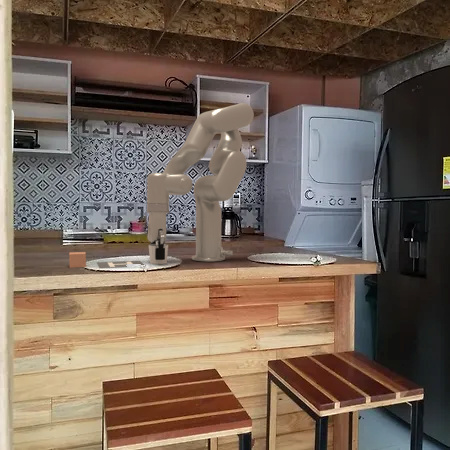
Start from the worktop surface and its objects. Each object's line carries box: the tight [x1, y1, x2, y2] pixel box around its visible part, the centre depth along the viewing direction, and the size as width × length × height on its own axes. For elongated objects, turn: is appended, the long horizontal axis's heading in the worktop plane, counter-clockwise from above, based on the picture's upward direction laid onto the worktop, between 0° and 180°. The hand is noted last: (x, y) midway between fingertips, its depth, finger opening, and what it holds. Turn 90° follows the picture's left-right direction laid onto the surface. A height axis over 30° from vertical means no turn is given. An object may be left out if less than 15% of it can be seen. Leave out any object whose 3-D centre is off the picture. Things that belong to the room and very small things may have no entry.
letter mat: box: [96, 260, 145, 269], centre depth 153 cm, size 15×14×1 cm
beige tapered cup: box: [148, 243, 169, 265], centre depth 157 cm, size 7×7×7 cm
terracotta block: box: [68, 251, 87, 269], centre depth 148 cm, size 5×5×5 cm
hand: (157, 258), depth 157 cm, fingers open, 9 cm apart
